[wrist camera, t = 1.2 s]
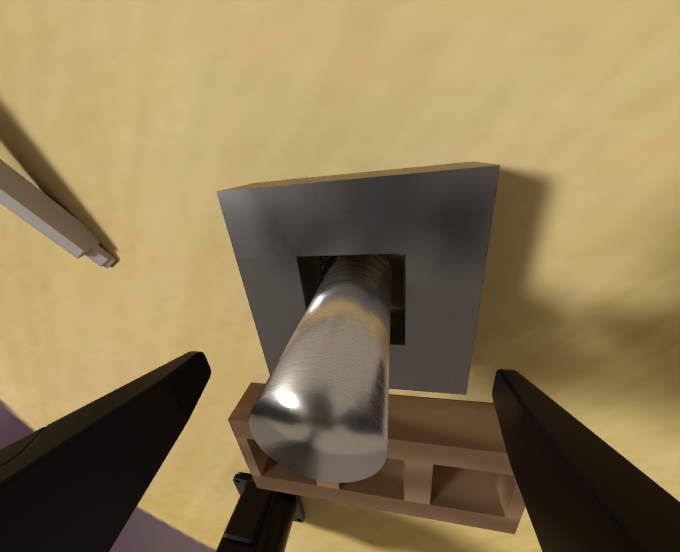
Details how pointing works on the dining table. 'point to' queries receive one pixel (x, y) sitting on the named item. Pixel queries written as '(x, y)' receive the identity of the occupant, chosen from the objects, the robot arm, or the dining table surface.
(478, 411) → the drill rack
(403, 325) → the socket block
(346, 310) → the metal peg
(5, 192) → the caliper
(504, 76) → the dining table surface
